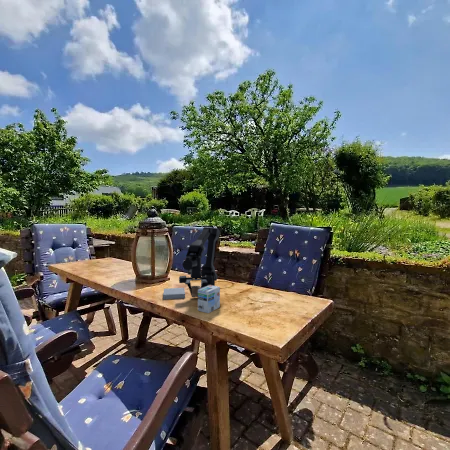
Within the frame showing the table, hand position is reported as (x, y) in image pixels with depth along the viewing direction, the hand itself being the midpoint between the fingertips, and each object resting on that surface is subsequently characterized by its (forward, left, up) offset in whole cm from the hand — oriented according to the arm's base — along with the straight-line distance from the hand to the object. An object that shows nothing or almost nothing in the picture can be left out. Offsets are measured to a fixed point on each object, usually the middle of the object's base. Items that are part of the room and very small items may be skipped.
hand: (195, 293), depth 147 cm
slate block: (+12, -8, -3) cm, 15 cm away
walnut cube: (0, 0, -1) cm, 1 cm away
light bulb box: (-5, +17, -3) cm, 18 cm away
